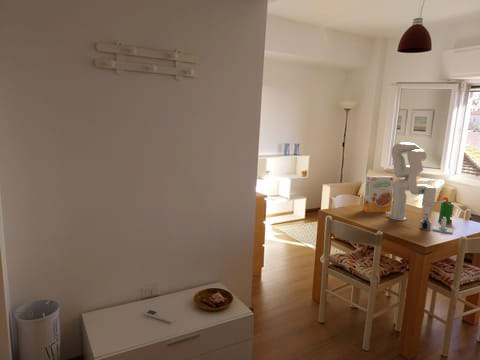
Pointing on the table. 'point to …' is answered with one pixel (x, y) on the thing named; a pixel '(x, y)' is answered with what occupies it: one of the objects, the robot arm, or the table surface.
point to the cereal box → (378, 193)
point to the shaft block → (443, 227)
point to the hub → (427, 226)
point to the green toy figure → (446, 210)
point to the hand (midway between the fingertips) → (425, 227)
